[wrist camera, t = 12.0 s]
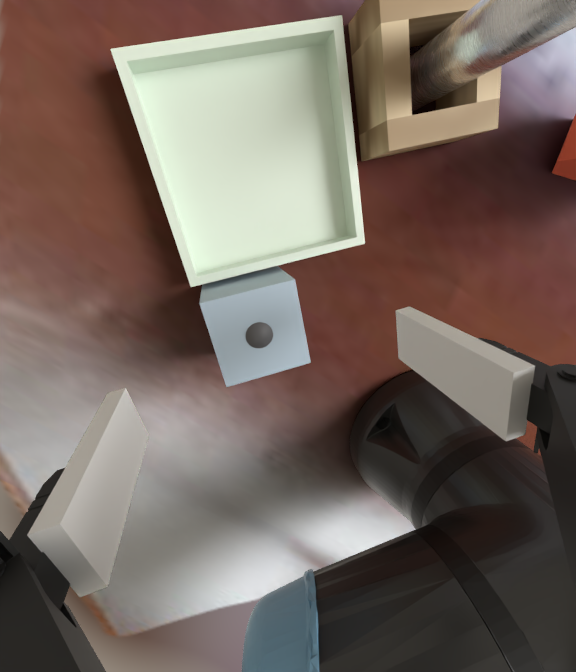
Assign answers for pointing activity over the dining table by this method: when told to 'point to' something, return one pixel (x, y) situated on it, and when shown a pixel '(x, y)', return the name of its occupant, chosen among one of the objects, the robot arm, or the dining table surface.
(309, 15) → the dining table surface
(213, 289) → the slate-blue block
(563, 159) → the french fries container
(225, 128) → the tray
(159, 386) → the dining table surface
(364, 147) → the oak block
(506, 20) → the cylinder
